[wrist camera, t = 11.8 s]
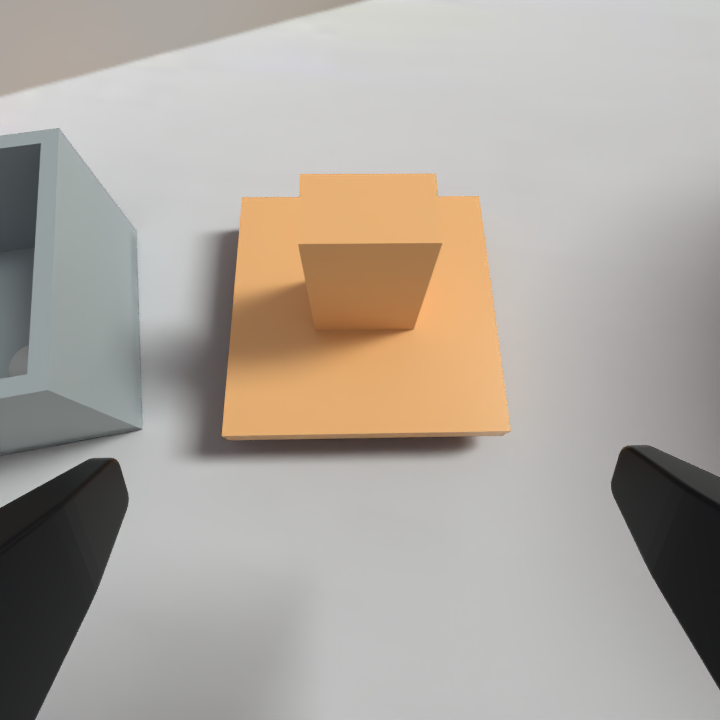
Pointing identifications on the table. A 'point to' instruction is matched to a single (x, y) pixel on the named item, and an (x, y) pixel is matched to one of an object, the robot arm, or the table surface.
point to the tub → (64, 300)
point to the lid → (363, 315)
